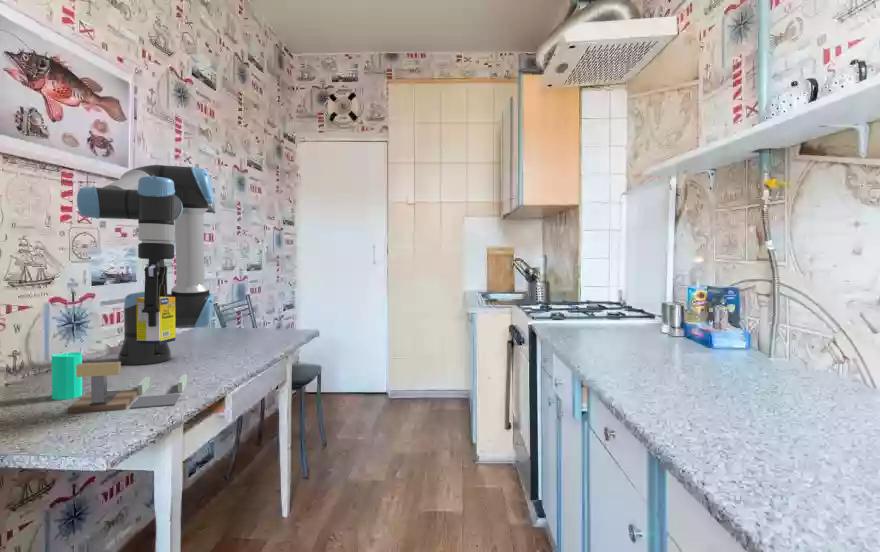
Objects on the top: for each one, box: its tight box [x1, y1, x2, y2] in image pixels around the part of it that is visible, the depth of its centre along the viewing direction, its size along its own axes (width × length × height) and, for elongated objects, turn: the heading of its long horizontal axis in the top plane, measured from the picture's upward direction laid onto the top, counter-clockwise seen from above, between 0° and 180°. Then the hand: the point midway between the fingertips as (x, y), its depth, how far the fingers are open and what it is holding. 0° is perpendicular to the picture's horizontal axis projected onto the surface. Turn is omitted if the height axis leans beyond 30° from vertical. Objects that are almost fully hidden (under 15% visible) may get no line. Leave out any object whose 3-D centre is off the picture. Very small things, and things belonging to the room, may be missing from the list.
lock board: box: [67, 388, 139, 414], centre depth 116 cm, size 13×11×2 cm
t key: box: [76, 361, 122, 403], centre depth 111 cm, size 2×8×9 cm, turn 110°
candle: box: [51, 351, 83, 401], centre depth 121 cm, size 6×6×12 cm
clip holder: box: [137, 374, 188, 396], centre depth 129 cm, size 9×10×2 cm
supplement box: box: [137, 297, 176, 344], centre depth 117 cm, size 6×6×11 cm
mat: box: [130, 393, 181, 410], centre depth 118 cm, size 9×9×1 cm
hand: (156, 337), depth 118 cm, fingers closed on supplement box, 8 cm apart
